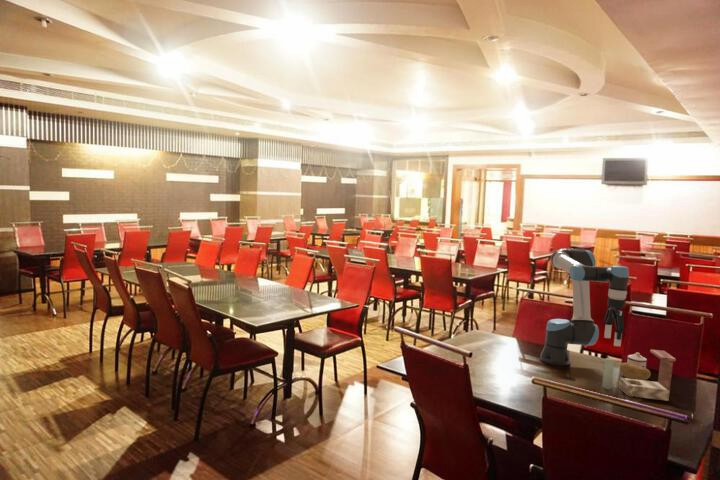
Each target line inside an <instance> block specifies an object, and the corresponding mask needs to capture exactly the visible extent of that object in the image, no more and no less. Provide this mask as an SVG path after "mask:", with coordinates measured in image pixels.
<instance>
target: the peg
mask: <svg viewBox="0 0 720 480" xmlns="http://www.w3.org/2000/svg"><path fill="white" fill-rule="evenodd" d="M614 364H615V359H613V358H611V357H610V358H609V357H606V358H605V359H604V368H603V376H602V377H603V378H602V388H603V389H607V390H611V389H612V383H613V377H614V376H613V375H614V367H615V366H614Z"/></svg>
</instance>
